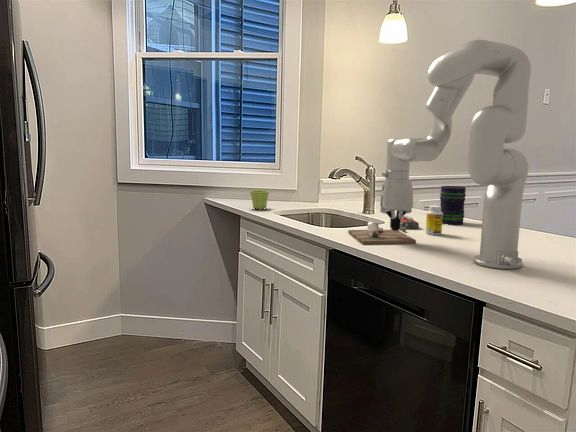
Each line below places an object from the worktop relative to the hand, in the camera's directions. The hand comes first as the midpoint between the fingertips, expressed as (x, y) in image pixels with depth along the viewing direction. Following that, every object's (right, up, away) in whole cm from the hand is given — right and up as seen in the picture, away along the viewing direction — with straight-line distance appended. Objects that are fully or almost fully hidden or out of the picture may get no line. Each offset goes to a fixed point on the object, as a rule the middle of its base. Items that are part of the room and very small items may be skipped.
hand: (394, 230), depth 166 cm
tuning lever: (-6, -1, +3) cm, 7 cm away
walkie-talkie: (+10, 0, +24) cm, 26 cm away
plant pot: (-50, +8, +69) cm, 85 cm away
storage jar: (+31, +2, +36) cm, 47 cm away
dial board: (-4, -3, +3) cm, 6 cm away
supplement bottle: (+17, -2, +12) cm, 21 cm away
